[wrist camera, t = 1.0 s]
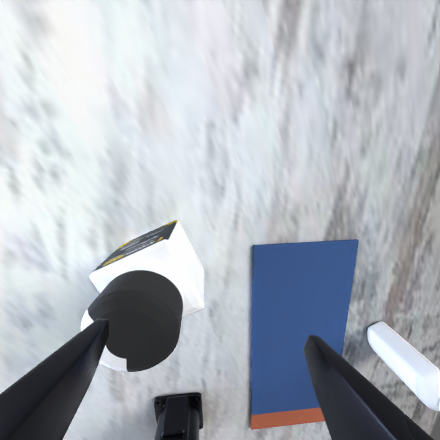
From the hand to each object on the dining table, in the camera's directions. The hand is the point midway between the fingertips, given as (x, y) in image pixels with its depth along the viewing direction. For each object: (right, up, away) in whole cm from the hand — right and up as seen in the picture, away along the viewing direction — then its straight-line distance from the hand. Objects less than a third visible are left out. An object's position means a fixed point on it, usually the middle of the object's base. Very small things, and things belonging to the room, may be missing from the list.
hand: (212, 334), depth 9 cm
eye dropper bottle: (+23, -12, +20) cm, 33 cm away
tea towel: (+11, -12, +19) cm, 25 cm away
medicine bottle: (-6, +1, +15) cm, 16 cm away
